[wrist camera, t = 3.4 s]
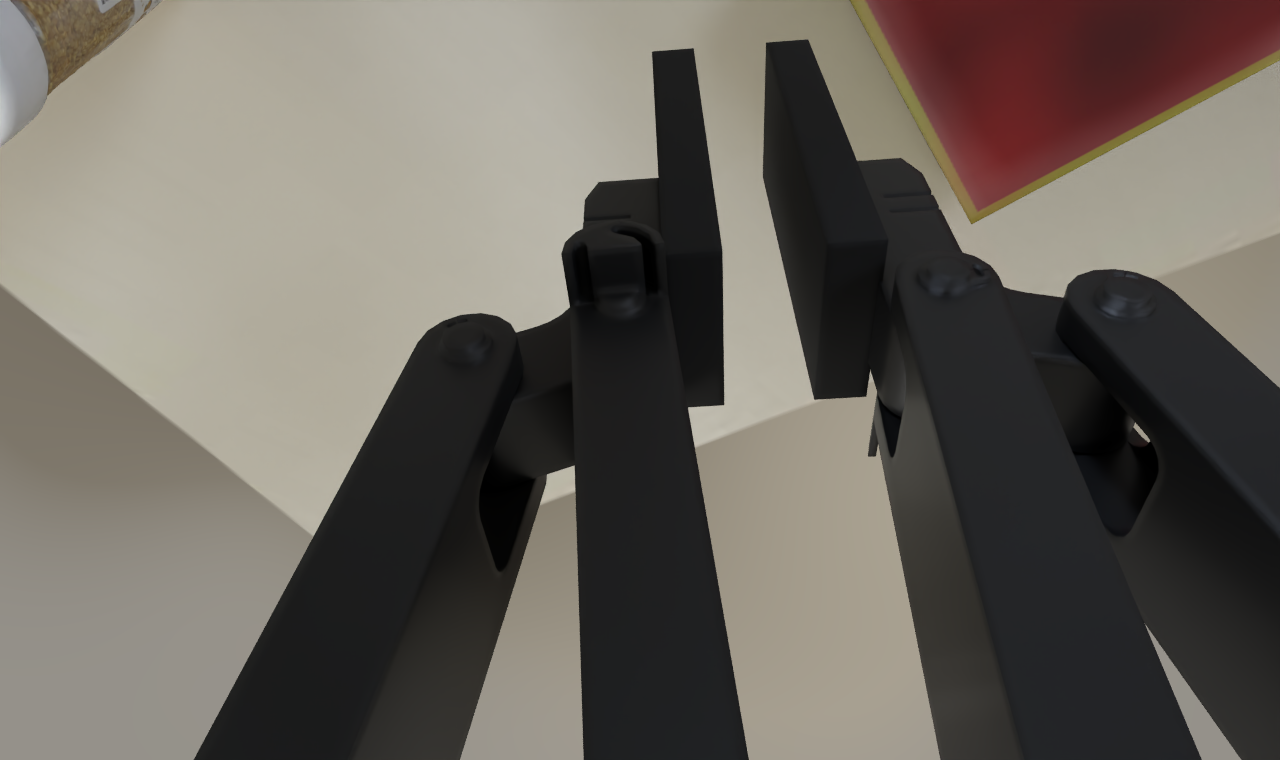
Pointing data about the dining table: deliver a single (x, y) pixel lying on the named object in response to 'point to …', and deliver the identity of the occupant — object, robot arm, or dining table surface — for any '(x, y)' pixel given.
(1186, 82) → the hardcover book
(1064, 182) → the dining table surface
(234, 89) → the dining table surface
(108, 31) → the sprinkles bottle
